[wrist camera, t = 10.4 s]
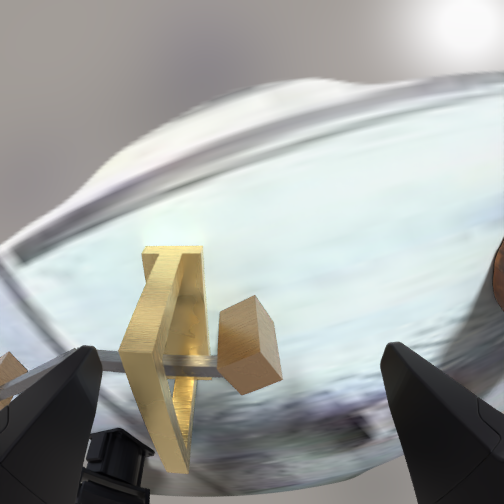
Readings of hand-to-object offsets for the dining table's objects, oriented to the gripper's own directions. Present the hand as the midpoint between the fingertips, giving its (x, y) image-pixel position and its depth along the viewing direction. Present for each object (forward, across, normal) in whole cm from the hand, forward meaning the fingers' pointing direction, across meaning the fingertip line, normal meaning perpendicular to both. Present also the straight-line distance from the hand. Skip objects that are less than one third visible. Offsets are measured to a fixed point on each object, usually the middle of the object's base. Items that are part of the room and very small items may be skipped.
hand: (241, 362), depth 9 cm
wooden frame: (+13, +4, +8) cm, 16 cm away
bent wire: (+13, +13, +12) cm, 22 cm away
